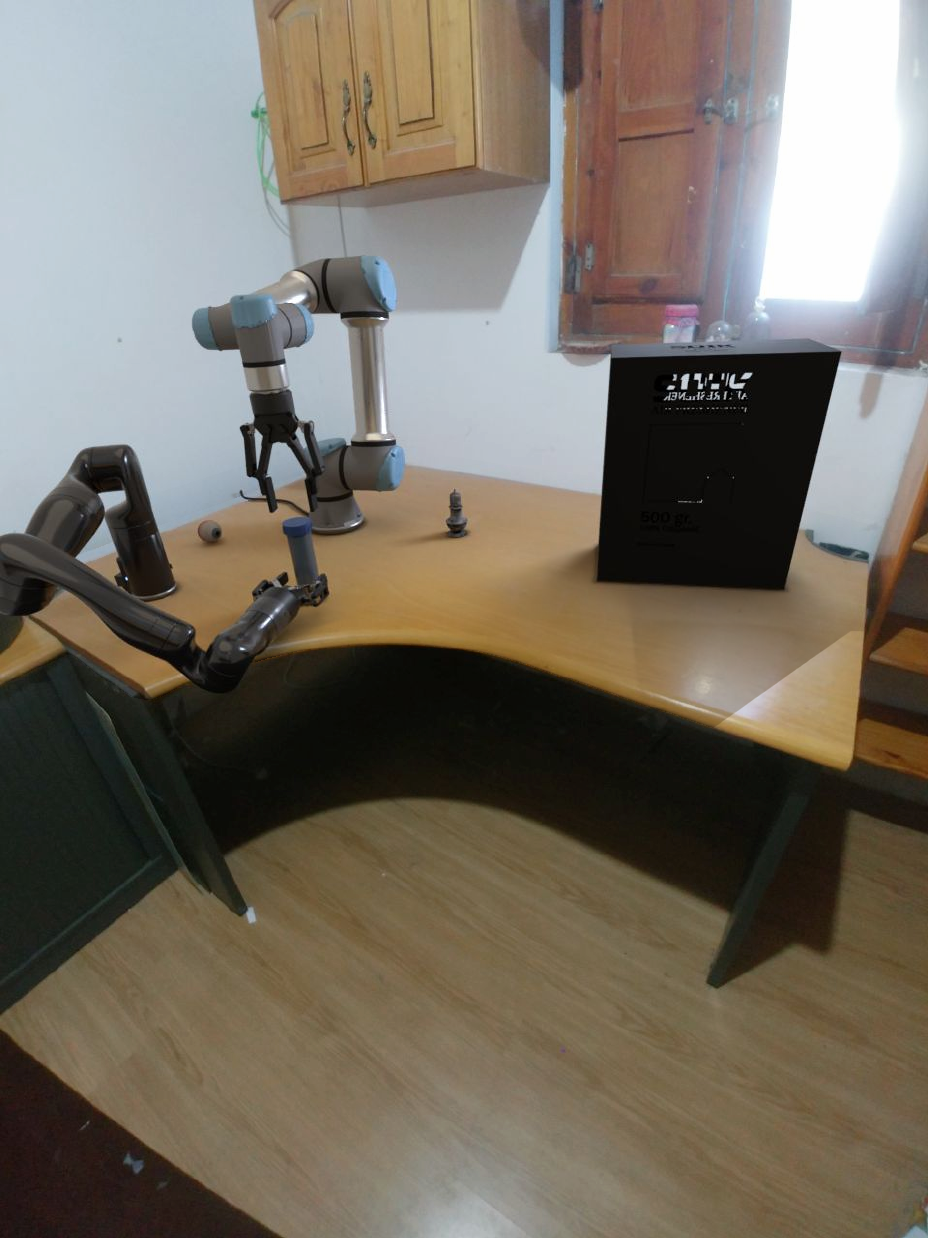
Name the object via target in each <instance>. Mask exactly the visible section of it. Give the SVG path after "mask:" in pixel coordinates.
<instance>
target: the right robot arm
mask: <svg viewBox="0 0 928 1238" xmlns="http://www.w3.org/2000/svg"><path fill="white" fill-rule="evenodd" d="M395 282H396V281H395V279H394V275H393V272H392V270H391V268H390V266H389V264H388V263H387V261H386V260H385V259H384V258H382V257H381V256H379V255H366V254H362V255H356V256H344V257H327V258H326V257H325V258H320V259H316V260H313V261H310V262H307V263H305V264H303V265H300V266H298V267H296V268H294V269H292V270H288V271H287V272H285V273H283V275H282V276H281V277H280V279H279V281H276V282H274V283H272V284H270V285H268V286H264V287H263V288H260V289H258V290H256V291H253V292H251V293H247V294H235V295H233V296H231V297H230V299H229V302H227V303H223V304H221V305H219V306H211V305H208V306H207V307H200V308H197V309H196V310H195V311H194V312H193V314H192V318H191V328H192V332H193V335H194V338H195V340H196V341H197V343H198V344H199V345H200V346H201V347H202V348H203V349H205V350H207V351H219V352H223V351H235V350H238V351H239V354H240V358H241V364H242V369H243V373H244V378H245V383H246V384H245V385H246V388H247V390H248V391H249V392H250V393H249V395H248V396H249V401H250V406H251V410H252V411H251V412H252V414H253V421H252V422H245V423H243V424H241V425H240V426H239V431H240V433H241V435H242V438H243V447H244V459H245V472H246V473H245V474H246V477H248V478H254V479H256V480H257V481H258V487H259V490H260V494H261V496H262V497H248V496H245V495H244V493H243V490H242V489H239V494H240V497H241V498H243V499H244V500H248V501H266V502H267V507H268V512H269V514H274V513H275V512H276V511H277V510H278V509H279V506H278V502H279V503H280V502H281V503H287V504H290V505H292V507H294V508H295V509H296V510H298V511H300V512H301V513H302V514H304V515H306V516H308V518H310V520H311V523H312V528H313V529H312V531H311V533H314V534H317V535H323V536H324V535H325V536H327V535H329V536H331V535H339V534H340V535H341V534H345V533H350V532H353V531H355V530H357V529H359V528H361V527H362V526H363V525H364V523H365V519H364V514H363V512H362V510H361V508H360V505H359V504H358V501H357V500H356V498H355V495H354V491H363V492H365V491H366V492H367V491H369V492H378V493H381V492H393V491H395V490H396V489H398V487H400V485H401V482H402V481H403V478H404V473H405V469H406V468H405V467H406V454H405V450H404V448H403V446H401V445H400V444H397V437H396V436H395V435H394V434H393V433H392V432H391V430H390V416H389V400H388V399H389V397H388V382H387V366H386V350H385V349H386V348H385V333H384V331H385V330H384V329H385V327H386V326H387V324H388V323H389V322H390V313H392V312H394V311H395V309H396V307H397V301H398V298H397V297H398V294H397V287H396V283H395ZM321 314H322V315H326V314H328V315H333V314H335V315H338V314H339V317H340V322H341V323H342V324H343V325H344V326H345V327H346V329H347V334H348V335H347V338H348V348H349V349H348V350H349V363H350V373H351V387H352V398H353V399H352V400H353V411H354V412H353V413H354V424H355V433H354V434H353V435H352V436H351V438H350V444H347V441H346V439H345V438H343V437H333V438H327V439H326V438H325V439H322V440H318V441H317V438H316V435H315V422H314V421H313V420H311V419H309V420H308V421H306V420H300V419H299V418H298V416H297V414H296V408H295V404H294V402H295V401H294V397H293V393H292V390H290V388H289V387H290V386H291V383H290V377H289V372H288V371H289V370H288V368H287V367H288V366H287V361H286V355H285V350H288V349H292V348H300V347H301V346H303V345H305V344H307V343H309V342H310V340H311V339H312V338H313V336H314V333H315V322H314V319H313V316H312V315H321ZM298 428H299V429H300V432H301V433H302V434H303V438H304V442H305V444H306V446H305V447H303V445H302V444H301V442H300V439H299V437H298V435H297V433H296V432H297V431H298ZM256 431H257V432H258V434H260V435H261V436H262V437H261V443H260V454H259V459H257V447H256V435H255V434H256ZM277 443H281V444H286V446H287V447H288V448H289V449H290V450H291V452H292V453H293V455H294V457H295V458H296V460H297V462H298V464H299V465H300V467H301V468H302V470H303V471H304V473H305V479H304V480H303V481H304V486H305V492H306V495H307V502H308V507H309V512H308V511H306V510H304V509H303V508H301V507H300V506H298V505H297V504H296V503H294V502H293V501H290V500H288V499H283V498H277V497H276V492H275V488H274V482H273V479H272V476H268V475H269V473H268V471H269V466H270V460H271V454H272V450H273V445H274V444H277ZM257 460H258V462H257ZM263 496H265V497H263Z"/></svg>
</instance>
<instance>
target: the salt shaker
mask: <svg viewBox="0 0 928 1238" xmlns="http://www.w3.org/2000/svg"><path fill="white" fill-rule="evenodd" d="M463 507H464V505H463V504H462V495H461V493H459V492H457V490H456V489H455V488H454V489H453V492H451V493H450V494H449V505H448V508H449V513H450V515H449V517H448V518H446V519H445V521H444V522H445V523H446V526H447V528H448V529H449V530H448V531H447V536H449V537H452V538H460V537H461V538H462V537H464V536H467V534H468V531H467V529H466V527H467V524H468V521H469V519H468V518H467V517H465V516H464V515H463Z"/></svg>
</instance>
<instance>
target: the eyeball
mask: <svg viewBox="0 0 928 1238" xmlns="http://www.w3.org/2000/svg"><path fill="white" fill-rule="evenodd" d="M222 534H223V529H222V527H221V525H220V524H219V523H218V522H217V521H215V520H212V519H207V520H204V521H202V522H201V523H200V524H199V525H198V527H197V535H198V538H199V539H201V540H202V541H203V542H205V543H208V544H213V543H216V542H218V541H219V540H220V539H221V538H222Z"/></svg>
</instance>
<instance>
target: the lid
mask: <svg viewBox="0 0 928 1238" xmlns="http://www.w3.org/2000/svg"><path fill="white" fill-rule="evenodd" d="M281 525H282V532H283V534H284V535H285V536H286V537H287V536H291V537H296V536H302V535H306V534H308V533H310V532H311V533H312V529H313V528H312V523H311V520H310V518H309V517H307V516H295V517H290V518H287V519H285V520H284V521H282V523H281Z"/></svg>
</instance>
